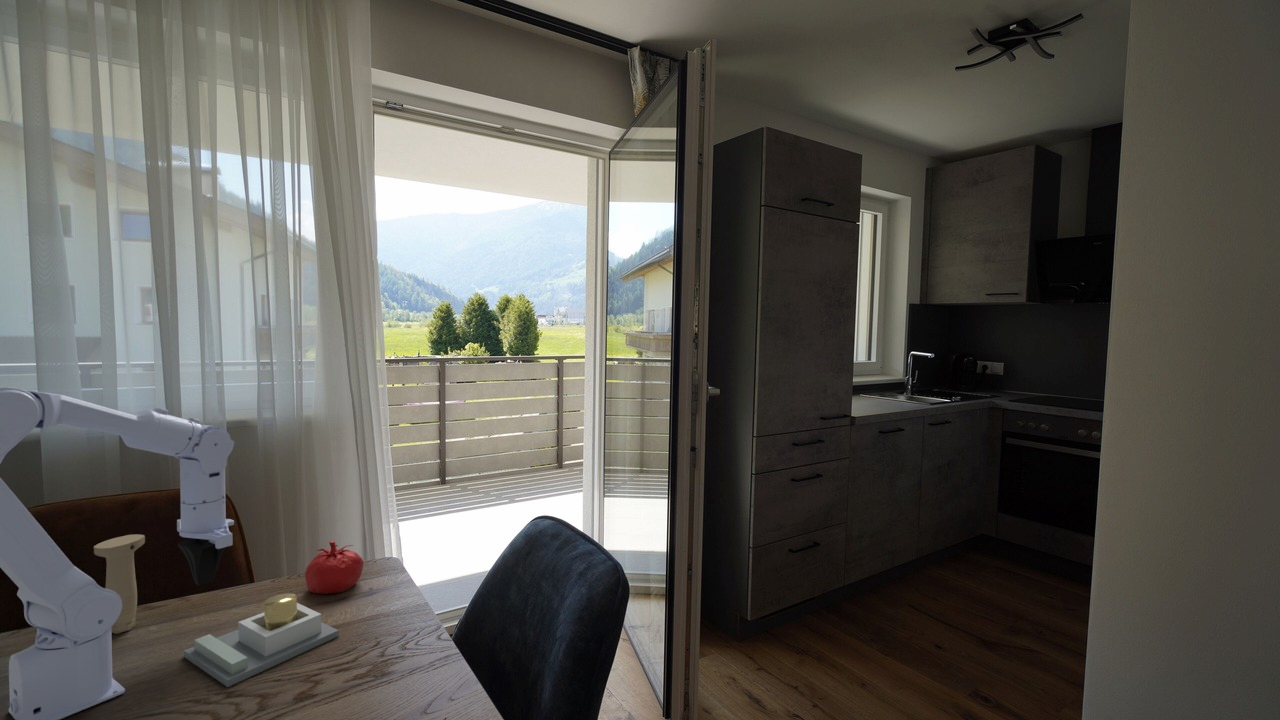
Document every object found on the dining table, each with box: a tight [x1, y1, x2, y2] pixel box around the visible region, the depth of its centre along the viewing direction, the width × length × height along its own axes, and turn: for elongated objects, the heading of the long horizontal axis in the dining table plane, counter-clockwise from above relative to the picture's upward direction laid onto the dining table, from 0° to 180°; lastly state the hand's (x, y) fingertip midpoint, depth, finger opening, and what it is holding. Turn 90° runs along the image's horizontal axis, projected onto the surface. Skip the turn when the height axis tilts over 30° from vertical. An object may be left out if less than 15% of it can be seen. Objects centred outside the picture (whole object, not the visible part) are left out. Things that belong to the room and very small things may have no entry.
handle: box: [93, 533, 146, 635], centre depth 93 cm, size 5×6×15 cm
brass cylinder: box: [263, 592, 298, 631], centre depth 90 cm, size 4×4×6 cm
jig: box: [183, 602, 339, 688], centre depth 89 cm, size 16×14×4 cm
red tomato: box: [304, 540, 364, 595], centre depth 110 cm, size 10×10×9 cm
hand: (204, 582), depth 91 cm, fingers closed
